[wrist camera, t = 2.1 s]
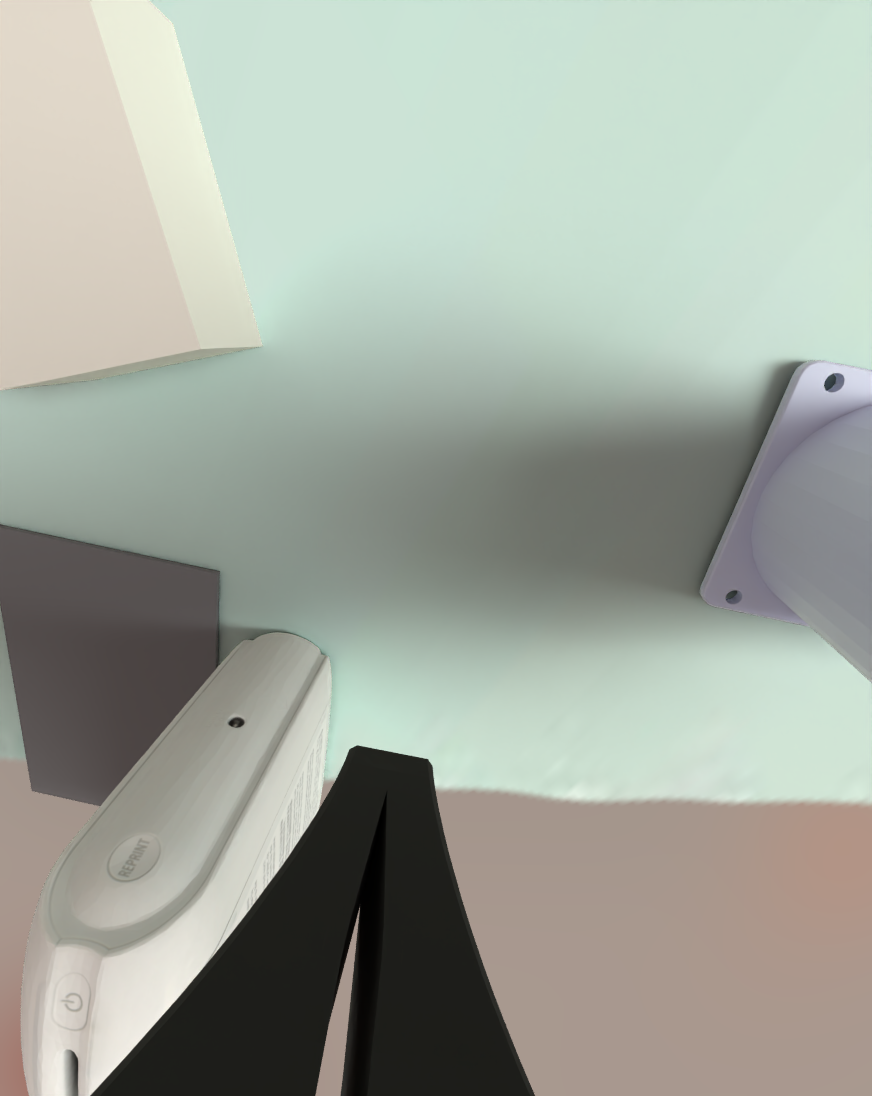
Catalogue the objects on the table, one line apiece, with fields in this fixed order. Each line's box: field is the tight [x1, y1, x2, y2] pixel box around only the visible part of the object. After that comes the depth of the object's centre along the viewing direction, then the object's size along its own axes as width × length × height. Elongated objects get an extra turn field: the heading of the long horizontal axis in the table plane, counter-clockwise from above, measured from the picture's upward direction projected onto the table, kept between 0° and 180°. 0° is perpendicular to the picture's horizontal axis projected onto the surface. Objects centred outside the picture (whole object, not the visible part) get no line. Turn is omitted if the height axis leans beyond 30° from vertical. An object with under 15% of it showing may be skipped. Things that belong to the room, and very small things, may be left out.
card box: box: [0, 0, 263, 390], centre depth 14 cm, size 6×8×4 cm
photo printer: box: [21, 632, 332, 1096], centre depth 17 cm, size 10×4×12 cm, turn 171°
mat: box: [0, 525, 220, 806], centre depth 22 cm, size 9×14×1 cm, turn 170°
